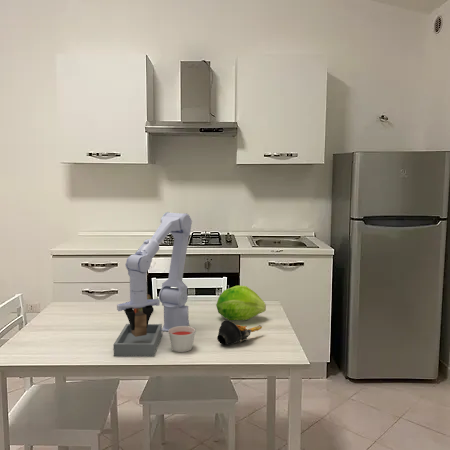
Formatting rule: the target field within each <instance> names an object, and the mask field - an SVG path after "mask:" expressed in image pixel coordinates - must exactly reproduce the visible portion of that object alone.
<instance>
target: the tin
mask: <svg viewBox="0 0 450 450" xmlns="http://www.w3.org/2000/svg"><path fill="white" fill-rule="evenodd" d="M147 299H152V297H151V295H150V294H147ZM133 310H134V312H135V313H138V312H143V310H142V307H141V308H134V309H133Z"/></svg>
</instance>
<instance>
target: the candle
mask: <svg viewBox="0 0 450 450" xmlns="http://www.w3.org/2000/svg"><path fill="white" fill-rule="evenodd" d="M195 335H196V329H195V328H194V327H192V326H189V325H188V326H177V327H173V328H171V329H169V331H168V336H169V340H170V346H171V350H172V351H173V352H177V353H178V352H179V353H185V352H190V351H191V350H192V349H193V345H194V340H195Z"/></svg>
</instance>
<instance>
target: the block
mask: <svg viewBox="0 0 450 450" xmlns="http://www.w3.org/2000/svg"><path fill="white" fill-rule="evenodd" d="M134 325H135V328H134V330H132V334H133V335H134V336H135V337H137V336H143V335H147V321H146V314H144V313H143V312H138V313H135V318H134Z"/></svg>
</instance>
